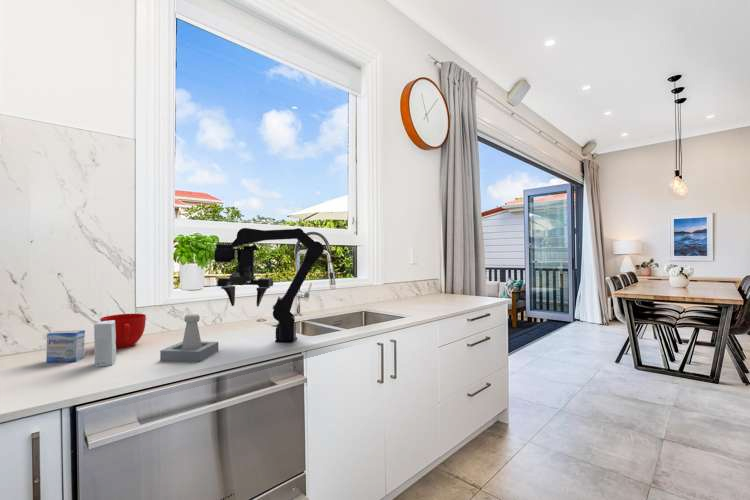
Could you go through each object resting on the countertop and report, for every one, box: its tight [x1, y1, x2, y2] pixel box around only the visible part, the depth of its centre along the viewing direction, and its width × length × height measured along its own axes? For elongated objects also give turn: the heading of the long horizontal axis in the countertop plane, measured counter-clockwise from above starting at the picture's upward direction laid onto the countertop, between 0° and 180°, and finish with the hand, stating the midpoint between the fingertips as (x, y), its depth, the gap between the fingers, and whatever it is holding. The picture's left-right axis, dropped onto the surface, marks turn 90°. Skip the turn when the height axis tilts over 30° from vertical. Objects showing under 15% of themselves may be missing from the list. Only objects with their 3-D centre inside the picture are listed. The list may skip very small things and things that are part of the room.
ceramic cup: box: [100, 313, 147, 349], centre depth 127 cm, size 13×17×10 cm
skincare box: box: [93, 320, 117, 368], centre depth 109 cm, size 6×4×12 cm
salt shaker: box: [181, 313, 202, 350], centre depth 118 cm, size 6×6×13 cm
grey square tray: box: [159, 340, 219, 363], centre depth 117 cm, size 12×12×3 cm
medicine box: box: [45, 329, 86, 364], centre depth 112 cm, size 8×4×9 cm, turn 101°
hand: (245, 306), depth 135 cm, fingers open, 9 cm apart
